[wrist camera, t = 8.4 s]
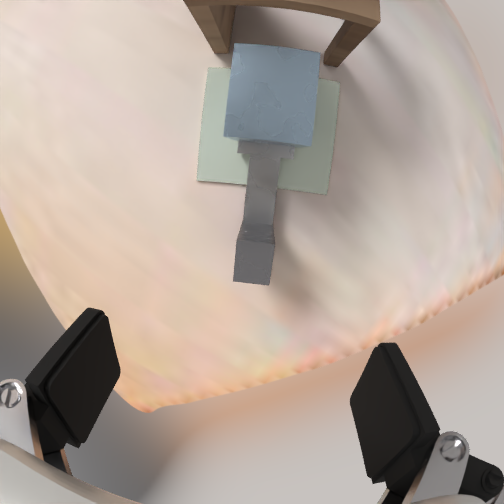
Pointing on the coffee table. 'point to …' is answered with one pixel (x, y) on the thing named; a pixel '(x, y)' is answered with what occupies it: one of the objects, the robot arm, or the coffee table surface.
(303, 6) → the tunnel
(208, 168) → the mat
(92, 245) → the coffee table surface
